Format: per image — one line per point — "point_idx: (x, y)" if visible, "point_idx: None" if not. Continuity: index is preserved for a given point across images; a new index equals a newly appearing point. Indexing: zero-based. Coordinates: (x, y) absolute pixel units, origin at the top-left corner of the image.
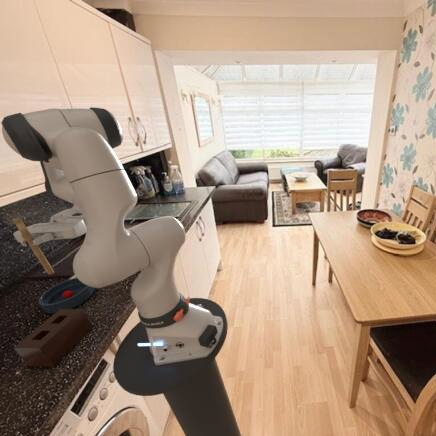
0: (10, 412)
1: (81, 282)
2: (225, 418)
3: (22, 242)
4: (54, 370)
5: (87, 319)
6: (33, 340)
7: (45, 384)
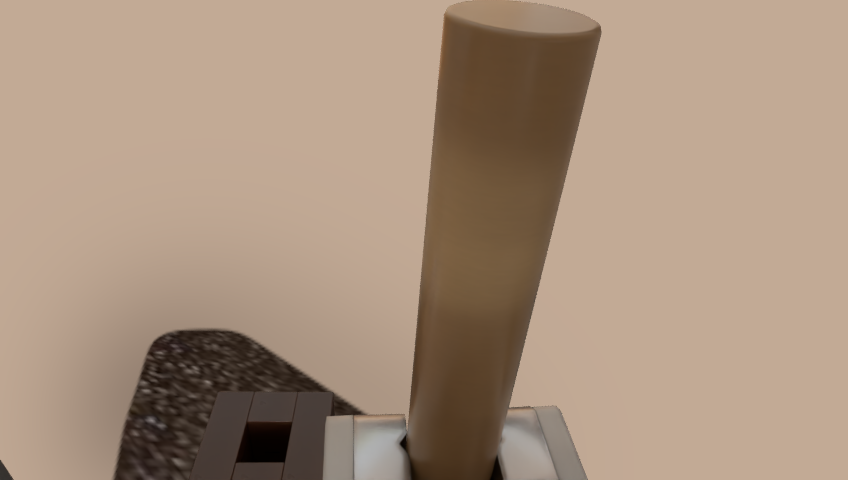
0: (263, 355)
1: None
2: None
3: (522, 407)
4: None
5: None
6: (276, 417)
7: None
